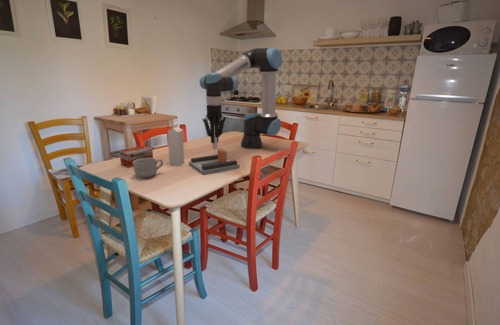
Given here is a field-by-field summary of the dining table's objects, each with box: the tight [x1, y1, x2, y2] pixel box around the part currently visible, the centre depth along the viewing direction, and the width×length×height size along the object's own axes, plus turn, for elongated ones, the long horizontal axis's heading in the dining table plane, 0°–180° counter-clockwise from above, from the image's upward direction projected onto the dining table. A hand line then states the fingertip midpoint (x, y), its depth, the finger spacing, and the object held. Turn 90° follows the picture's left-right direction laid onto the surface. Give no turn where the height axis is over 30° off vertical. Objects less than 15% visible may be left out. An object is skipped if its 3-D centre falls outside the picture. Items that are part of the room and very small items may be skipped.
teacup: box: [133, 157, 164, 179], centre depth 138 cm, size 14×11×8 cm
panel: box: [188, 157, 241, 176], centre depth 155 cm, size 22×18×2 cm
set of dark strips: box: [190, 154, 238, 170], centre depth 154 cm, size 20×16×2 cm
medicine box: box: [119, 145, 154, 168], centre depth 156 cm, size 15×8×8 cm, turn 145°
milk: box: [167, 123, 185, 167], centre depth 154 cm, size 6×6×22 cm
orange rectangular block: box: [216, 147, 228, 162], centre depth 156 cm, size 3×6×7 cm, turn 34°
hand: (214, 148), depth 153 cm, fingers closed
